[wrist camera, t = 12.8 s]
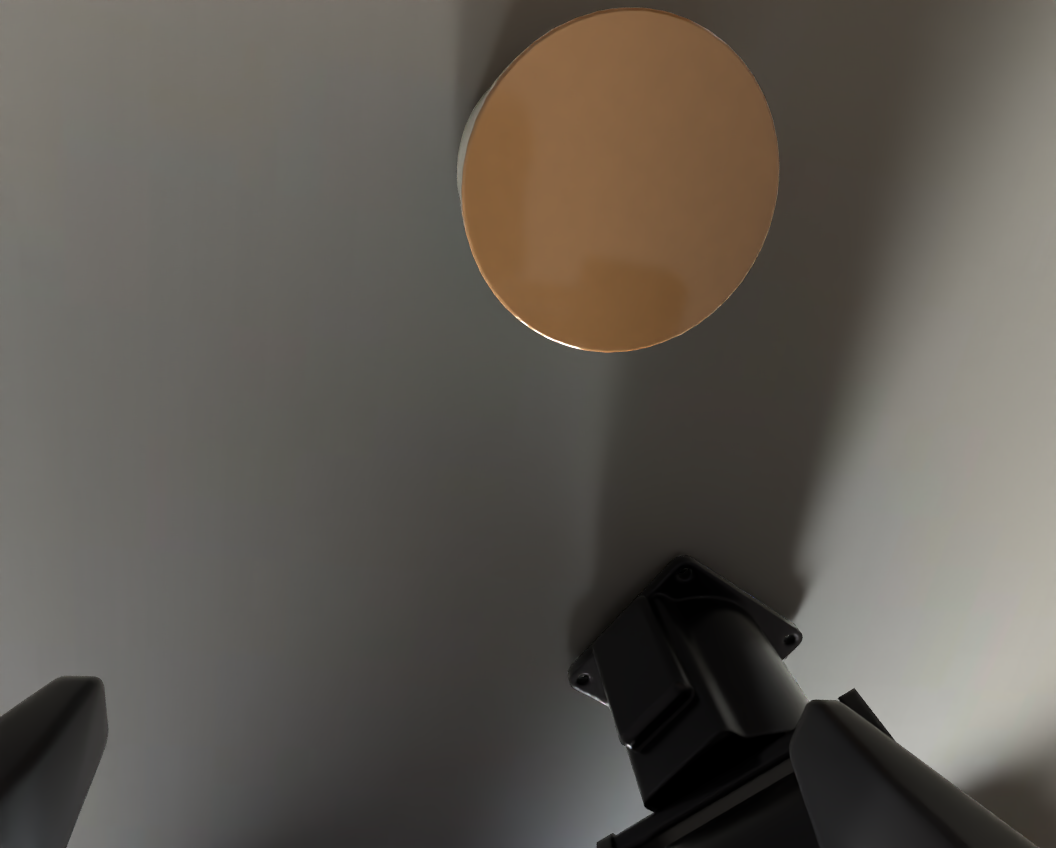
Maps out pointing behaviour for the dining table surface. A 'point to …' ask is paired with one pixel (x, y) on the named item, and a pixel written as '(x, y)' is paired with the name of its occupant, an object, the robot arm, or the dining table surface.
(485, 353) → the dining table surface
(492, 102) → the jar
